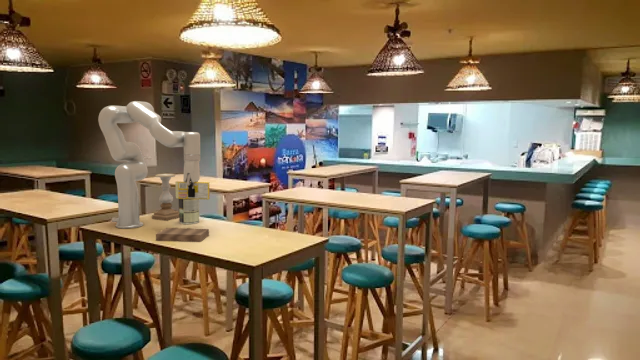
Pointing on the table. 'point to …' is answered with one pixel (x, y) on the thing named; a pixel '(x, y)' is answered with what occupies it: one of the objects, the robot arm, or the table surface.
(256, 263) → the table surface
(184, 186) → the candy box
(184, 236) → the walnut plinth
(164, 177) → the candle holder
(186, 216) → the coffee can
